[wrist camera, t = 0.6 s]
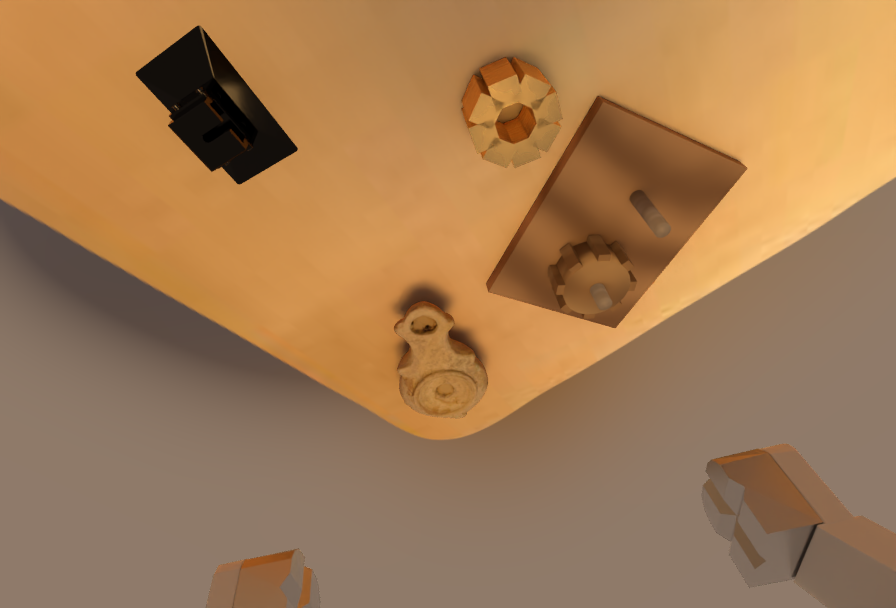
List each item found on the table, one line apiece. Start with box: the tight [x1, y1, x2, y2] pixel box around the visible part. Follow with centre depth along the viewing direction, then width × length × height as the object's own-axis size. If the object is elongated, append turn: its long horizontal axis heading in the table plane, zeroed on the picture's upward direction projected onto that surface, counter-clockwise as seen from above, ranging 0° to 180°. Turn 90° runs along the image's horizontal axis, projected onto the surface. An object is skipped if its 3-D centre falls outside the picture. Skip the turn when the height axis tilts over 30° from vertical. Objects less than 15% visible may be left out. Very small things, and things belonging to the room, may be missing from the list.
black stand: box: [136, 26, 298, 184], centre depth 35 cm, size 12×7×5 cm, turn 28°
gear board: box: [486, 96, 747, 328], centre depth 43 cm, size 18×14×6 cm
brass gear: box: [461, 57, 563, 168], centre depth 37 cm, size 6×6×4 cm
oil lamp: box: [394, 301, 488, 419], centre depth 51 cm, size 11×14×5 cm
